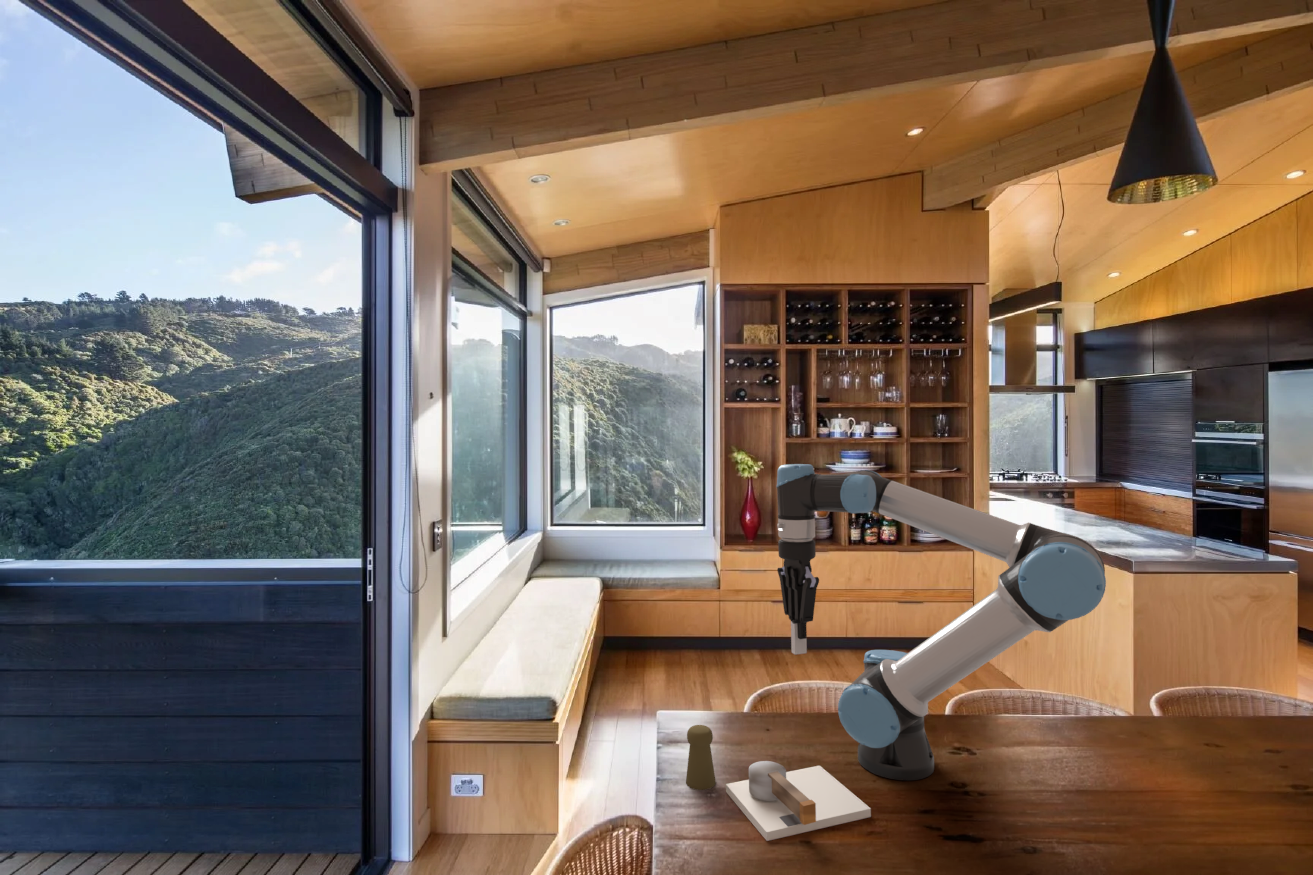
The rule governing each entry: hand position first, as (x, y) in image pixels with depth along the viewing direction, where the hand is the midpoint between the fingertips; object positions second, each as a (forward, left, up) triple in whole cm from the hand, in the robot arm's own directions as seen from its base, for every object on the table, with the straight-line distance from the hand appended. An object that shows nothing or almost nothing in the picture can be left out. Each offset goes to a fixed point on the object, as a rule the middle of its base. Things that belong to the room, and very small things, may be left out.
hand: (799, 652), depth 138 cm
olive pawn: (+21, -3, -25) cm, 33 cm away
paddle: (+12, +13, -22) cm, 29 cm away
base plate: (+8, +11, -24) cm, 28 cm away
